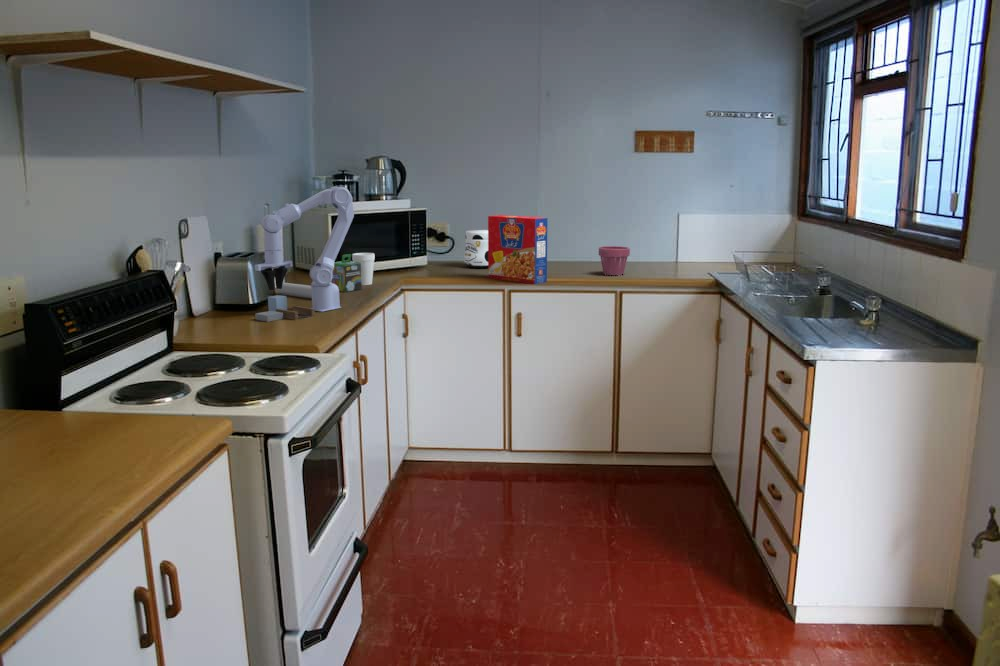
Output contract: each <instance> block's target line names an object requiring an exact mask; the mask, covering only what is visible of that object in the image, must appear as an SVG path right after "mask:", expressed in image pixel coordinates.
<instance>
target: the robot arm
mask: <svg viewBox="0 0 1000 666" xmlns="http://www.w3.org/2000/svg"><path fill="white" fill-rule="evenodd" d="M353 199H354V198H353V196H352V194H351V192H350V191H349V189H348V188H347V187H345V186H335V185H334V186H332V187H330V188H327V189H324V190H321V191H320V192H318V193H316V194H314V195H312V196H310V197H309V198H306V199H305V200H303V201H301V202H299V203H298V204H295V203H293V202H292V203H290V204H289V203H286V204H284V207H281V208H280V209H277V210H273V211H271V213H272V214H266V215H265V216H264V217H263V218H262V220H261V223H260V225H261V227H262V229H263V247H264V248H263V249H264V262H263V263H258V264H254V271H256V272H257V271H259V272H260V273H261V274H262V276H263V277H264V279H265V281H266V284H267V287H268V291H269V290H270V291H275V289H276V290H277V289H282V285H283V283H284V279H285V277H286V274H287V272H288V270H289V269H288V267H289V268H290V267H293V261H292V260H283V251H282V236H281V229H282V227H287V226H288V225H290V224H291V223H293V222H295V221H297V220H299V219H301V216H302V214H303V213H305V212H307V211H309V210H311V209H313V208H315V207H317V206H320V205H321V204H330V205H332V206H333V208H334V209H335V211H336V214H337V215H338V216H337V218H336V221H335V223H334V225H333V228H332V230H331V232H330V234H329V237H328V238H327V241H326V243H325V246H324V248H323V251H322V253H321V255H320V256H319V258H318V259H316V260H317V261H316V262H315V264H314V265H313V266H312V267H311V268H310V270H309V277H310V279H311V280H312V282H311V283H310V286H311V291H312V299H311V307H310V308H313V309H314V311H315V312H321V313H324V312H327V311H332V310H337V309H341V308H342V306H341V304H340V291H339V289H338V287H337V285H336V284H333V283H332V282H331V281H332V278H333V274H332V273H333V269H334V262H335V261H336V259H337V258H338V257H337V256H338V254H339V252H340V249H341V247H342V245H343V243H344V241H345V237H346V235H347V234H348V231H349V229H350V226H351V224H352V223H353V219H354V218H355V213H354V206H353Z"/></svg>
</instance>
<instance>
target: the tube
mask: <svg viewBox="0 0 1000 666" xmlns="http://www.w3.org/2000/svg"><path fill="white" fill-rule="evenodd" d="M276 292H277V293H278V294H279V295H281V296H288V297H289V296H291V297H297V298H305V299H310V300H312V291H311V285H309V284H308V285H307V284H299V283H289V282H283V285H282V289H277V288H276Z"/></svg>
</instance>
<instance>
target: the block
mask: <svg viewBox="0 0 1000 666" xmlns="http://www.w3.org/2000/svg"><path fill="white" fill-rule="evenodd" d="M287 296H288V295H282V294H279V295H278V294H277V295H270V296H267V306H268V311H275V312H276V309H283V310H288V299H287Z"/></svg>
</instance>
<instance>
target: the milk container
mask: <svg viewBox="0 0 1000 666" xmlns="http://www.w3.org/2000/svg"><path fill="white" fill-rule="evenodd" d="M464 241H465V249H464V252H463V253H464V254H463V262H464V265H465V266H466V267H470V268H476V269H477V268H478V269H484V268H488V229H469V230H466V231H465V240H464Z"/></svg>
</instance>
